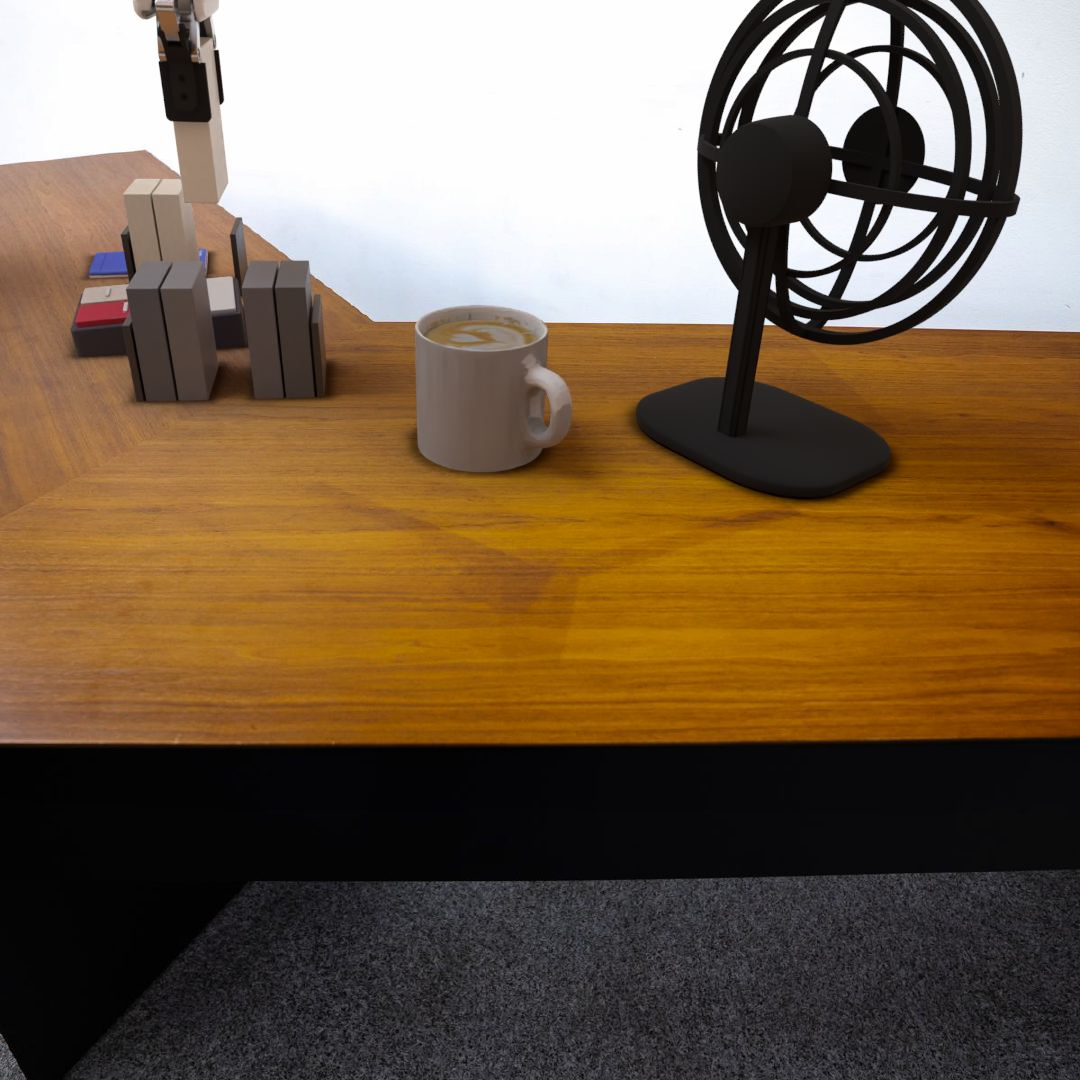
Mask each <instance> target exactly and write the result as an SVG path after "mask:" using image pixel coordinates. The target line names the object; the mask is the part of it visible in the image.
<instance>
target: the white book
mask: <svg viewBox="0 0 1080 1080" xmlns="http://www.w3.org/2000/svg"><path fill="white" fill-rule="evenodd" d="M189 41H190V37H189ZM214 50H215V49H214V48H213V39H212V38H208V37H200V53H201V62H203V63H206V71H207V79H208V88H209V97H210V105H211V114H212V118H211V120H210V121H209V122H174V121H172V124H173V125H172V126H173V131H174V132H173V133H174V140H175V146H176V147H175V148H176V153H177V161H178V168H179V175H180V177H179V178H180V179H181V184H182V191H183V199H184V203H192V204H214V205H215V204H219V202H220V200H221V199H222V196H223V195H224V193H225V191H226V189H227V187H228V185H229V175H228V167H227V157H226V149H225V139H224V130H223V122H222V121H223V120H222V113H221V112H222V111H221V105H220V102H219V93H218V84H217V75H216V66H215V57H214Z"/></svg>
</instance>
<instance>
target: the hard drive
mask: <svg viewBox="0 0 1080 1080" xmlns="http://www.w3.org/2000/svg"><path fill="white" fill-rule="evenodd" d="M198 251H199V258H200V261H204V265H205V273H206V275H207V274H208V259H209V252H208V248H198ZM88 276H89V279H106V278H128V272H127V267H126V261H125V256H124V251H107V252H106V251H105V252H96V253H95V254H94V257H93V260H92V263H91V265H90V267H89V271H88Z"/></svg>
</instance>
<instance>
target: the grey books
mask: <svg viewBox="0 0 1080 1080" xmlns="http://www.w3.org/2000/svg"><path fill="white" fill-rule="evenodd" d="M310 266H311V265H310V260H280V263H279V260H249V263H248V269H247V272H246V276H245V279H244V282H243V285H242V296H241V298H242V306H243V313H244V321H245V329H246V338H247V346H248V354H249V361H250V370H251V371H250V372H251V379H252V386H253V394H254V399H255V400H261V399H264V400H265V399H284V398H286V399H299V398H300V399H302V398H303V399H304V398H306V399H307V398H325V394H326V393H325V392H326V380H327V379H326V377H327V353H326V339H325V329H324V313H323V302H322V294H321V293H314V294H313V290H312V281H311V280H312V279H311V270H310V268H311V267H310ZM206 279H207V274H206V273H205V265H204V261H175V262H174V264H173V263H172V261H143V262H142V264H141V265H140V267H139V269H138V270H137V272H136V273H135V275H134V277H133V278H132V280H131V281H130V283H128V284H129V285H128V286H127V288H126V293H127V299H128V304H129V309H130V313H129V315H128V316H127V318H126V320H125V322H124V323H123V325H122V328H123V334H124V339H125V344H126V349H127V354H126V355H127V360H128V364H129V370H130V374H131V380H132V385H133V386H132V387H133V390H134V397H135V402H137V403H139V402H141V403H142V402H145V401H146V402H176V401H177V400H178V401H181V402H183V401H184V402H185V401H208V400H210V396H211V393H212V389H213V386H214V383H215V380H216V376H217V373H218V369H219V367H220V366H219V360H218V353H217V349H216V344H215V337H214V330H213V323H212V315H211V308H210V301H209V294H208V287H207V280H206Z"/></svg>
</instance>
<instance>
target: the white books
mask: <svg viewBox="0 0 1080 1080" xmlns="http://www.w3.org/2000/svg"><path fill="white" fill-rule="evenodd" d="M122 199H123V204H124V209H125V210H124V211H125V214H126V220H127V225H126V226H125V228H124V229H123V231H122V232H121V233H120V239H121V245H122V250H123V252H124V256H125V261H126V267H127V272H128V277H127V278H128V282H129V283H130V281H131V280H132V278H133V277H134V275H135V273H136V272H137V270H138V269H139V267H140V265H141V264H142V262H143V261H172V263H173V264H174V262H175V261H200V258H199V251H198V249H199V244H198V238H197V229H196V223H195V216H194V209H193V203H184V199H183V191H182V184H181V178H163V179H161V178H135V179H134V180H133V181H132V182H131V184H130V185H129V186H128V187H127V189H126V190H124V192H123V193H122ZM229 239H230V241H229V242H230V249H231V256H232V257H231V258H232V264H233V273H234V278H236V279H237V280H238V284H239V289H240V295H241V297H242V285H243V282H244V279H245V276H246V272H247V269H248V266H249V263H248V257H247V248H246V239H245V230H244V222H243V217H240V216H239V217H238V216H237V217H236V218H235V221H234V222H233V225H232V228H231V230H230V233H229ZM129 283H128V284H129Z"/></svg>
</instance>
